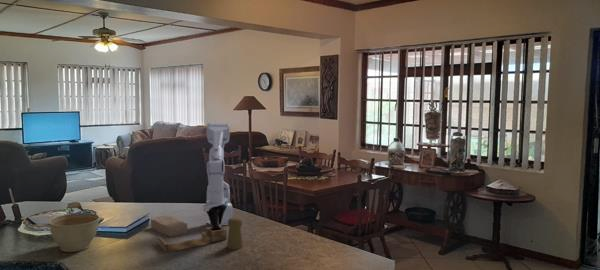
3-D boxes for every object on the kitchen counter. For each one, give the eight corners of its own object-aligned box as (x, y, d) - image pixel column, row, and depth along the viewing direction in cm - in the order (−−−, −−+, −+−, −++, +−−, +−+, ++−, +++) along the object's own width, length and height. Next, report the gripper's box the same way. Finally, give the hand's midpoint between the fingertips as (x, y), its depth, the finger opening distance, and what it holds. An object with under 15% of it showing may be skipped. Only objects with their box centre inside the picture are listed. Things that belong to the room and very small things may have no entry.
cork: (246, 245, 163) (246, 216, 162) (238, 250, 157) (238, 220, 156) (231, 243, 165) (231, 214, 164) (223, 248, 159) (223, 219, 158)
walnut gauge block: (220, 235, 174) (220, 225, 173) (226, 239, 169) (226, 229, 168) (206, 237, 170) (206, 227, 170) (211, 242, 165) (211, 232, 165)
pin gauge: (216, 229, 171) (216, 209, 170) (220, 230, 169) (220, 210, 169) (211, 230, 169) (211, 210, 168) (215, 231, 167) (215, 211, 167)
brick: (188, 233, 176) (188, 222, 176) (170, 238, 170) (170, 226, 170) (167, 224, 188) (167, 214, 187) (149, 229, 182) (149, 218, 181)
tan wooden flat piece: (200, 235, 173) (200, 229, 172) (210, 243, 164) (210, 237, 163) (157, 243, 163) (157, 236, 163) (166, 252, 154) (166, 245, 154)
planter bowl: (49, 259, 147) (47, 227, 146) (51, 244, 161) (50, 215, 160) (101, 251, 154) (100, 222, 153) (98, 238, 168) (98, 210, 167)
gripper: (217, 186, 176) (217, 218, 177) (196, 193, 162) (196, 228, 164) (232, 187, 173) (232, 220, 175) (212, 195, 160) (212, 231, 161)
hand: (216, 224), depth 169 cm, fingers closed on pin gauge, 2 cm apart
